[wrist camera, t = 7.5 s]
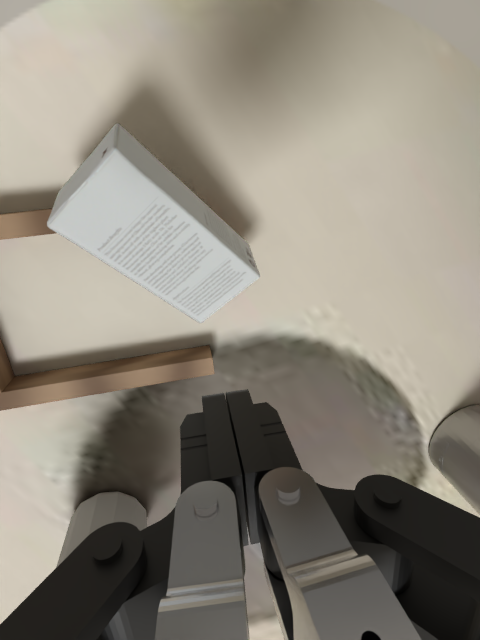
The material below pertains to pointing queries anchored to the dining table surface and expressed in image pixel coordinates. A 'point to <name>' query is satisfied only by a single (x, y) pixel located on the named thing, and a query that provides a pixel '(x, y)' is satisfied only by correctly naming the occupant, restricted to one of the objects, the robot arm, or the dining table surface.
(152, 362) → the brown wooden frame
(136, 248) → the skincare box
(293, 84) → the dining table surface
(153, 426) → the dining table surface
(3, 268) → the dining table surface
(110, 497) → the water bottle
